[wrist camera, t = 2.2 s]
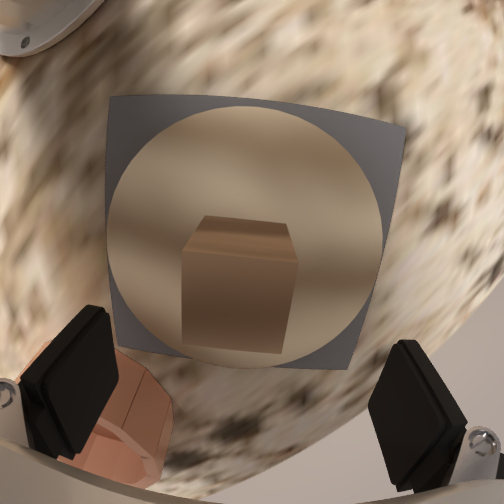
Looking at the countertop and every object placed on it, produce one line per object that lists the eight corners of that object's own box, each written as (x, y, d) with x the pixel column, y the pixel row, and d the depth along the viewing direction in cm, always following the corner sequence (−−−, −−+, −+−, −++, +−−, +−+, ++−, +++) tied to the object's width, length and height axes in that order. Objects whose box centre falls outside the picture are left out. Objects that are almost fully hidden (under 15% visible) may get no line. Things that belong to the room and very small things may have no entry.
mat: (114, 97, 14) (110, 96, 14) (401, 127, 15) (406, 127, 14) (120, 340, 20) (118, 345, 19) (345, 364, 20) (346, 369, 20)
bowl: (25, 321, 20) (-15, 363, 14) (167, 354, 20) (144, 418, 15) (62, 419, 25) (41, 459, 19) (177, 450, 25) (166, 500, 19)
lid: (117, 105, 14) (52, 95, 8) (396, 133, 14) (461, 136, 9) (123, 341, 19) (89, 402, 14) (342, 364, 20) (363, 431, 14)
